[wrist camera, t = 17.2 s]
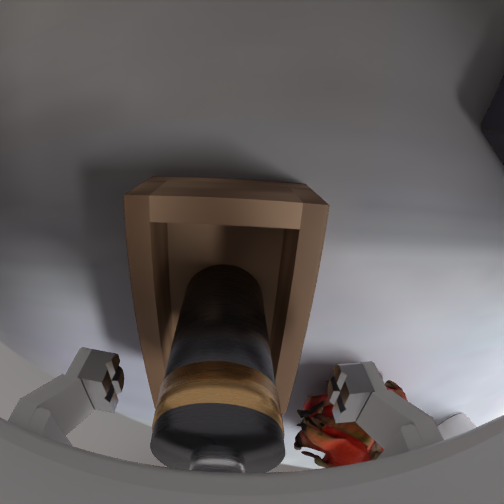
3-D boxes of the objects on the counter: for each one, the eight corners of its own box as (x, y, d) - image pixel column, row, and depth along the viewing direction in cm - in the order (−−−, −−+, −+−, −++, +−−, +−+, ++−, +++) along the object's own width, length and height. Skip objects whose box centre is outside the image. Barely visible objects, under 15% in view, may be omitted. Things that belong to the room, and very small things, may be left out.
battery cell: (266, 265, 15) (303, 447, 6) (259, 330, 16) (279, 498, 8) (183, 261, 15) (129, 439, 6) (186, 327, 16) (157, 493, 7)
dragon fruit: (380, 406, 25) (291, 352, 23) (454, 396, 18) (371, 329, 16) (352, 484, 20) (246, 448, 18) (430, 494, 13) (324, 469, 11)
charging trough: (305, 184, 14) (329, 205, 11) (277, 367, 19) (285, 413, 15) (152, 176, 14) (123, 195, 10) (165, 362, 18) (155, 408, 15)
